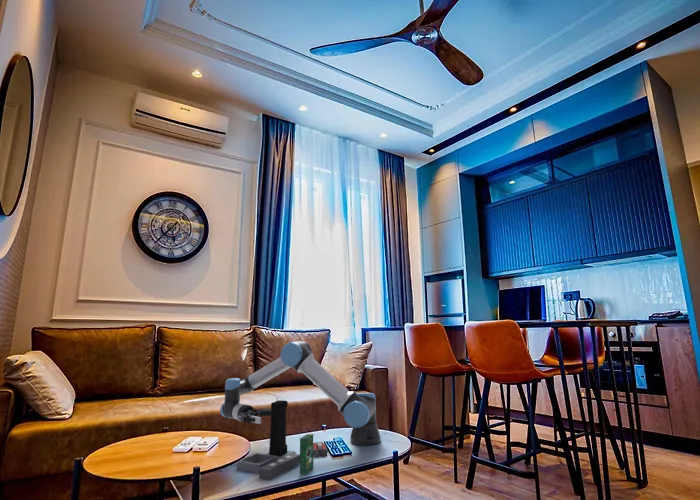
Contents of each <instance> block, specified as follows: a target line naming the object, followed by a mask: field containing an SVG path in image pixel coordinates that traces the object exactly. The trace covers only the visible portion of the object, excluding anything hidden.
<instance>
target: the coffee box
mask: <svg viewBox="0 0 700 500" xmlns="http://www.w3.org/2000/svg"><path fill="white" fill-rule="evenodd" d="M313 443H314V434H313V433H307V434H305V435H303V436H302V437H301V438H299V454H300V464H299V475H307V474H308V473H309V472H310V471H311V470H313V468H314V457H313Z"/></svg>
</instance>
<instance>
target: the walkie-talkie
mask: <svg viewBox="0 0 700 500" xmlns="http://www.w3.org/2000/svg"><path fill="white" fill-rule="evenodd" d="M327 456H328V448H327V446H326V443H325V442H323V441H316V442H313V458H317V457H327Z"/></svg>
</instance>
